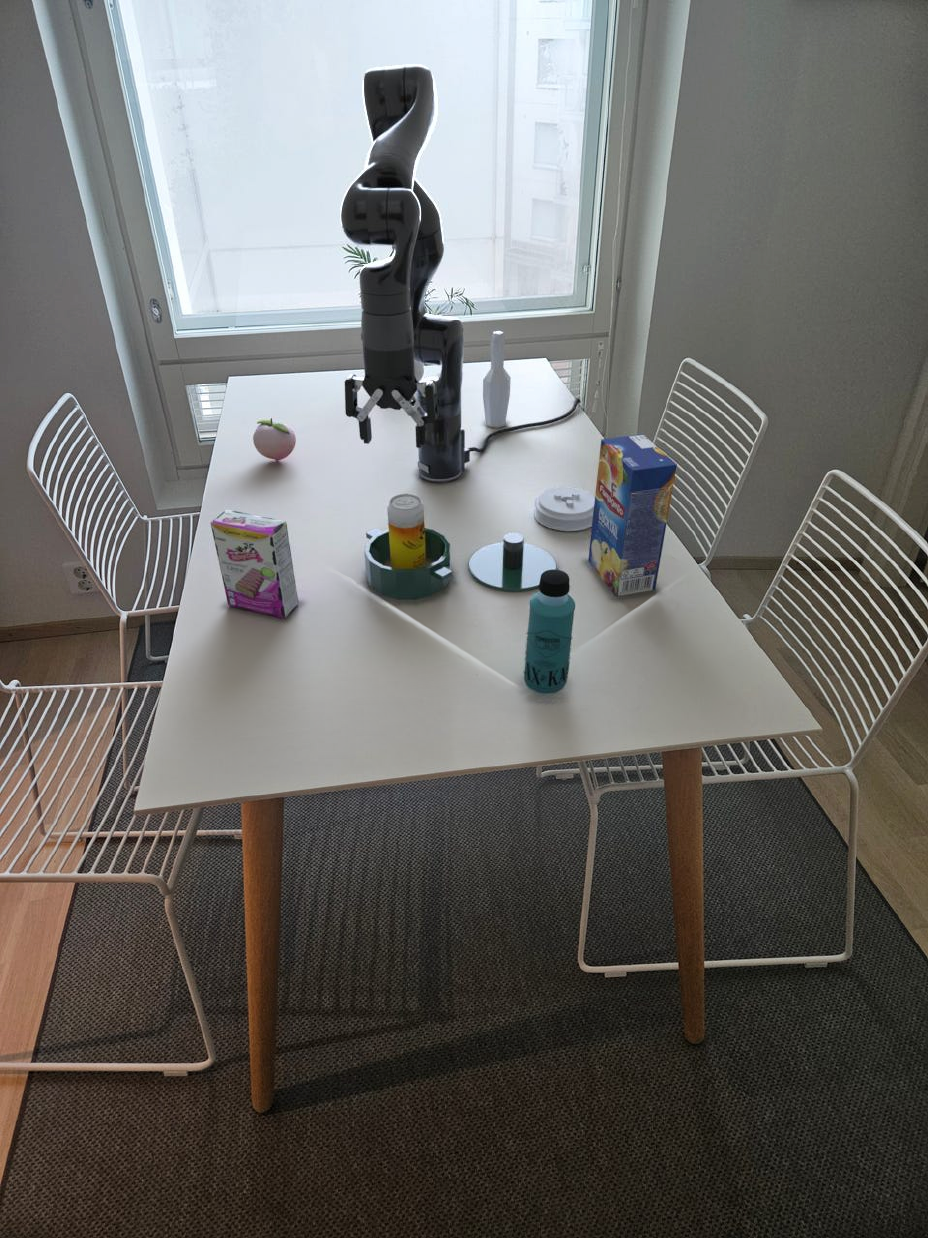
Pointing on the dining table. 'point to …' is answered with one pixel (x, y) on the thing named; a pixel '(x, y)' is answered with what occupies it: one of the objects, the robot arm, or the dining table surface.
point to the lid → (565, 508)
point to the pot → (407, 580)
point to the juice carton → (630, 513)
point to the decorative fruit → (274, 439)
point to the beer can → (406, 532)
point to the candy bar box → (255, 562)
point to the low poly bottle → (496, 384)
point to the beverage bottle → (549, 634)
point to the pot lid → (510, 564)
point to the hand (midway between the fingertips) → (393, 443)
